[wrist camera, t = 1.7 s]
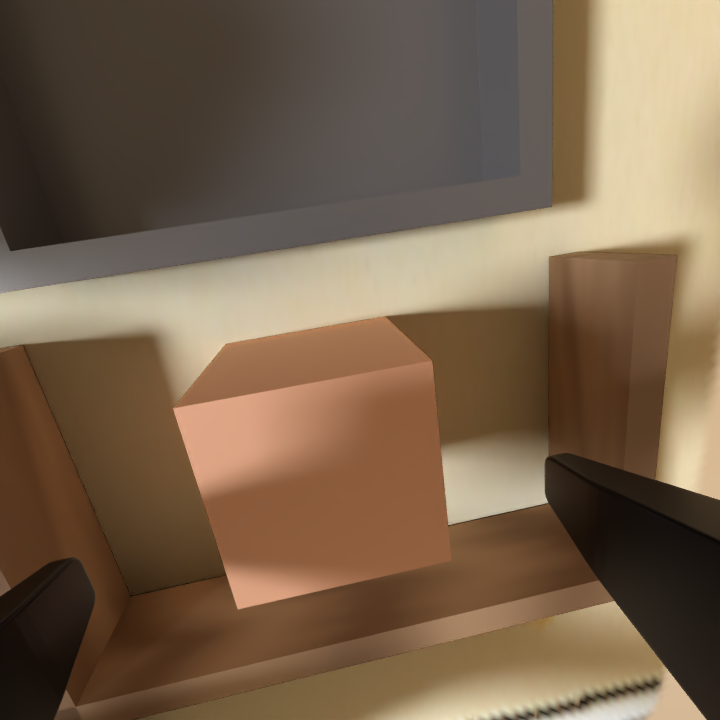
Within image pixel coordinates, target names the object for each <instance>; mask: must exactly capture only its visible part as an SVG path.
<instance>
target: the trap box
mask: <svg viewBox="0 0 720 720" xmlns="http://www.w3.org/2000/svg"><path fill="white" fill-rule="evenodd" d="M552 97H553V0H0V293H3V292H9V291H16V290H22V289H28V288H35V287H41V286H48V285H54V284H61V283H67V282H73V281H80V280H86V279H93V278H99V277H105V276H112V275H118V274H125V273H131V272H137V271H144V270H150V269H157V268H163V267H169V266H176V265H182V264H189V263H195V262H202V261H208V260H214V259H221V258H227V257H234V256H240V255H246V254H253V253H259V252H266V251H272V250H278V249H285V248H291V247H298V246H304V245H310V244H317V243H323V242H330V241H336V240H343V239H349V238H355V237H362V236H368V235H375V234H381V233H387V232H394V231H400V230H407V229H413V228H419V227H426V226H432V225H439V224H445V223H451V222H458V221H464V220H471V219H477V218H483V217H490V216H496V215H503V214H509V213H516V212H522V211H528V210H535V209H541V208H548V207H552Z"/></svg>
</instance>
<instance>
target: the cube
mask: <svg viewBox="0 0 720 720" xmlns="http://www.w3.org/2000/svg"><path fill="white" fill-rule="evenodd" d="M173 410H174V413H175V416H176V420H177V423H178V426H179V429H180V432H181V435H182V438H183V441H184V444H185V447H186V451H187V454H188V457H189V460H190V463H191V466H192V469H193V472H194V475H195V478H196V482H197V485H198V488H199V491H200V494H201V497H202V500H203V503H204V506H205V509H206V513H207V516H208V519H209V522H210V525H211V528H212V531H213V534H214V537H215V540H216V544H217V547H218V550H219V553H220V556H221V559H222V562H223V565H224V568H225V571H226V575H227V578H228V581H229V584H230V587H231V590H232V593H233V596H234V599H235V602H236V606H237V609H242V608H246V607H251V606H255V605H260V604H264V603H268V602H273V601H277V600H282V599H286V598H290V597H295V596H299V595H304V594H308V593H312V592H317V591H321V590H326V589H330V588H334V587H339V586H343V585H348V584H352V583H356V582H361V581H365V580H370V579H374V578H378V577H383V576H387V575H392V574H396V573H400V572H405V571H409V570H414V569H418V568H422V567H427V566H431V565H435V564H440V563H444V562H449V561H452V560H451V550H450V540H449V529H448V519H447V508H446V498H445V488H444V477H443V467H442V456H441V446H440V436H439V425H438V415H437V404H436V394H435V384H434V373H433V363H432V360H431V359H430V358H429V357H428V356H427V355H426V354H425V353H424V352H422V351H421V350H420V349H419V348H418V347H417V346H416V345H415V344H414V343H413V342H412V341H411V340H410V339H409V338H408V337H406V336H405V335H404V334H403V333H402V332H401V331H400V330H399V329H398V328H397V327H396V326H395V325H394V324H393V323H392V322H390V321H389V320H388V319H387V318H386V317H385V316H384V317H378V318H372V319H367V320H361V321H355V322H349V323H344V324H338V325H332V326H326V327H321V328H315V329H309V330H303V331H298V332H292V333H286V334H280V335H275V336H269V337H263V338H257V339H252V340H246V341H240V342H234V343H229V344H225V345H224V347H223V348H222V349H221V350H220V352H219V353H218V354H217V355H216V356H215V358H214V359H213V360H212V361H211V363H210V364H209V365H208V366H207V367H206V369H205V370H204V371H203V372H202V374H201V375H200V376H199V377H198V378H197V380H196V381H195V382H194V383H193V385H192V386H191V387H190V388H189V389H188V391H187V392H186V393H185V394H184V396H183V397H182V398H181V399H180V401H179V402H178V403H177V404H176V405H175V407H174V408H173Z"/></svg>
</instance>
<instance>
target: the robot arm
mask: <svg viewBox="0 0 720 720" xmlns="http://www.w3.org/2000/svg"><path fill="white" fill-rule="evenodd" d="M545 495H546V498H547V501H548V503H549V504H550V506H551V508H552V509H553V511H554V512H555V514H556V516H557V517H558V519H559V520H560V522H561V523H562V525H563V527H564V528H565V530H566V531H567V533H568V534H569V536H570V538H571V539H572V541H573V542H574V544H575V545H576V547H577V549H578V550H579V552H580V553H581V555H582V556H583V558H584V560H585V561H586V563H587V564H588V566H589V567H590V569H591V570H592V572H593V573H594V574H595V576H596V577H597V579H598V580H599V581H600V583H601V584H602V585H603V587H604V588H605V589H606V590H607V592H608V593H609V594H610V596H611V597H612V598H613V599H614V601H615V602H616V603H617V605H618V606H619V607H620V609H621V610H622V611H623V612H624V614H625V615H626V616H627V618H628V619H629V620H630V621H631V623H632V624H633V625H634V627H635V628H636V629H637V630H638V632H639V633H640V634H641V636H642V637H643V638H644V640H645V641H646V642H647V643H648V645H649V646H650V647H651V649H652V650H653V651H654V652H655V654H656V655H657V656H658V658H659V659H660V660H661V661H662V663H663V664H664V665H665V667H666V668H667V669H668V670H669V672H670V673H671V674H672V676H673V677H674V678H675V680H676V681H677V682H678V683H679V685H680V686H681V687H682V689H683V690H684V691H685V692H686V694H687V695H688V696H689V698H690V699H691V700H692V701H693V703H694V704H695V705H696V706H697V708H698V709H699V710H700V712H701V713H702V714H703V716H704V717H705V718H706V719H707V720H720V500H718V499H714V498H711V497H708V496H705V495H702V494H698V493H695V492H692V491H689V490H686V489H682V488H679V487H676V486H673V485H670V484H667V483H663V482H660V481H657V480H654V479H651V478H647V477H644V476H641V475H638V474H635V473H631V472H628V471H625V470H622V469H619V468H615V467H612V466H609V465H606V464H603V463H599V462H596V461H593V460H590V459H587V458H583V457H580V456H577V455H574V454H571V453H560V454H556V455H551V456H548V457H547V458H546V460H545ZM94 605H95V590H94V587H93V585H92V583H91V581H90V579H89V576H88V574H87V572H86V570H85V568H84V565H83V563H82V562H81V560H80V559H78V558H77V557H70V558H65V559H60V560H56V561H52V562H50V563H48V564H46V565H45V566H43V567H42V568H40V569H39V570H38V571H36V572H35V573H33V574H32V575H30V576H29V577H27V578H26V579H25V580H23V581H22V582H20V583H19V584H17V585H16V586H14V587H13V588H12V589H10V590H9V591H7V592H6V593H4V594H3V595H1V596H0V720H54V719H55V717H56V714H57V712H58V709H59V707H60V704H61V702H62V699H63V696H64V693H65V691H66V688H67V685H68V682H69V679H70V676H71V673H72V670H73V667H74V664H75V662H76V659H77V656H78V653H79V650H80V647H81V644H82V641H83V638H84V635H85V632H86V629H87V626H88V623H89V620H90V617H91V614H92V611H93V608H94Z"/></svg>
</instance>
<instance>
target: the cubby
mask: <svg viewBox="0 0 720 720" xmlns="http://www.w3.org/2000/svg"><path fill="white" fill-rule="evenodd" d="M676 262H677V255H664V254H631V253H598V252H575V253H569V254H563V255H557V256H551V257H549V456H551V455H556V454H560V453H571V454H574V455H577V456H580V457H583V458H587V459H590V460H593V461H596V462H599V463H603V464H606V465H609V466H612V467H615V468H619V469H622V470H625V471H628V472H631V473H635V474H638V475H641V476H644V477H647V478H651V479H654V480H655V477H656V466H657V456H658V446H659V436H660V425H661V415H662V405H663V395H664V385H665V374H666V364H667V354H668V344H669V333H670V323H671V313H672V303H673V292H674V282H675V272H676ZM448 529H449V540H450V550H451V560H452V561H449V562H444V563H440V564H435V565H431V566H427V567H422V568H418V569H414V570H409V571H405V572H400V573H396V574H392V575H387V576H383V577H378V578H374V579H370V580H365V581H361V582H356V583H352V584H348V585H343V586H339V587H334V588H330V589H326V590H321V591H317V592H312V593H308V594H304V595H299V596H295V597H290V598H286V599H282V600H277V601H273V602H268V603H264V604H260V605H255V606H251V607H246V608H242V609H237V606H236V602H235V599H234V596H233V593H232V590H231V587H230V584H229V581H228V578H227V575H226V576H222V577H217V578H213V579H208V580H204V581H199V582H195V583H190V584H186V585H181V586H176V587H172V588H167V589H163V590H158V591H154V592H149V593H145V594H140V595H136V596H131V597H130V594H129V592H128V590H127V587H126V585H125V583H124V580H123V578H122V576H121V573H120V571H119V569H118V566H117V564H116V562H115V559H114V557H113V555H112V552H111V550H110V548H109V545H108V543H107V541H106V538H105V536H104V534H103V531H102V529H101V527H100V524H99V522H98V520H97V517H96V515H95V513H94V510H93V508H92V506H91V503H90V501H89V499H88V496H87V494H86V492H85V489H84V487H83V485H82V482H81V480H80V478H79V475H78V473H77V471H76V468H75V466H74V464H73V461H72V459H71V457H70V454H69V452H68V450H67V447H66V445H65V443H64V440H63V438H62V436H61V433H60V431H59V429H58V426H57V424H56V422H55V419H54V417H53V415H52V412H51V410H50V408H49V405H48V403H47V401H46V398H45V396H44V394H43V392H42V389H41V387H40V385H39V382H38V380H37V378H36V375H35V373H34V371H33V368H32V366H31V364H30V361H29V359H28V357H27V354H26V352H25V350H24V347H23V345H18V346H12V347H6V348H0V596H1V595H3V594H4V593H6V592H7V591H9V590H10V589H12V588H13V587H14V586H16V585H17V584H19V583H20V582H22V581H23V580H25V579H26V578H27V577H29V576H30V575H32V574H33V573H35V572H36V571H38V570H39V569H40V568H42V567H43V566H45V565H46V564H48V563H50V562H52V561H56V560H60V559H65V558H70V557H77V558H78V559H80V560H81V562H82V563H83V565H84V568H85V570H86V572H87V574H88V576H89V579H90V581H91V583H92V585H93V587H94V590H95V605H94V608H93V611H92V614H91V617H90V620H89V623H88V626H87V629H86V632H85V635H84V638H83V641H82V644H81V647H80V650H79V653H78V656H77V659H76V662H75V664H74V667H73V670H72V673H71V676H70V679H69V682H68V685H67V688H66V691H65V693H64V696H63V699H62V702H61V704H60V707H59V709H58V712H57V714H56V717H55V719H54V720H134V719H138V718H142V717H146V716H150V715H154V714H158V713H162V712H166V711H171V710H175V709H179V708H183V707H187V706H191V705H195V704H199V703H203V702H207V701H211V700H215V699H219V698H223V697H227V696H231V695H235V694H239V693H243V692H247V691H251V690H255V689H260V688H264V687H268V686H272V685H276V684H280V683H284V682H288V681H292V680H296V679H300V678H304V677H308V676H312V675H316V674H320V673H324V672H328V671H332V670H336V669H340V668H344V667H348V666H353V665H357V664H361V663H365V662H369V661H373V660H377V659H381V658H385V657H389V656H393V655H397V654H401V653H405V652H409V651H413V650H417V649H421V648H425V647H429V646H433V645H437V644H442V643H446V642H450V641H454V640H458V639H462V638H466V637H470V636H474V635H478V634H482V633H486V632H490V631H494V630H498V629H502V628H506V627H510V626H514V625H518V624H522V623H526V622H530V621H535V620H539V619H543V618H547V617H551V616H555V615H559V614H563V613H567V612H571V611H575V610H579V609H583V608H587V607H591V606H595V605H599V604H603V603H607V602H611V601H614V599H613V598H612V597H611V596H610V594H609V593H608V592H607V590H606V589H605V588H604V587H603V585H602V584H601V583H600V581H599V580H598V579H597V577H596V576H595V574H594V573H593V572H592V570H591V569H590V567H589V566H588V564H587V563H586V561H585V560H584V558H583V556H582V555H581V553H580V552H579V550H578V549H577V547H576V545H575V544H574V542H573V541H572V539H571V538H570V536H569V534H568V533H567V531H566V530H565V528H564V527H563V525H562V523H561V522H560V520H559V519H558V517H557V516H556V514H555V512H554V511H553V509H552V508H551V506H550V504H546V505H541V506H537V507H532V508H528V509H523V510H519V511H514V512H510V513H505V514H501V515H496V516H492V517H487V518H483V519H478V520H474V521H469V522H465V523H460V524H456V525H451V526H448Z"/></svg>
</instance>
